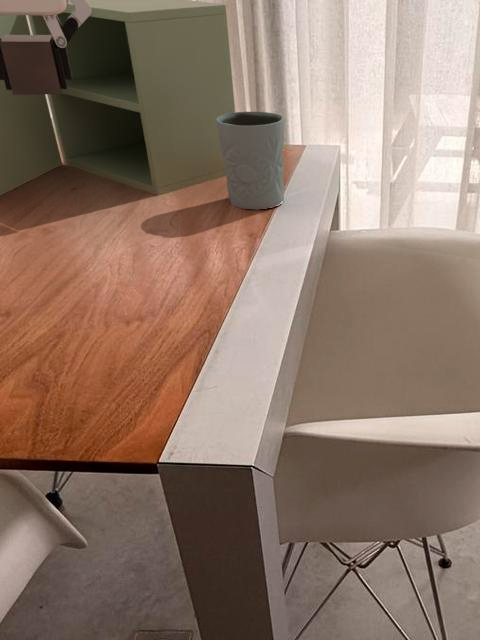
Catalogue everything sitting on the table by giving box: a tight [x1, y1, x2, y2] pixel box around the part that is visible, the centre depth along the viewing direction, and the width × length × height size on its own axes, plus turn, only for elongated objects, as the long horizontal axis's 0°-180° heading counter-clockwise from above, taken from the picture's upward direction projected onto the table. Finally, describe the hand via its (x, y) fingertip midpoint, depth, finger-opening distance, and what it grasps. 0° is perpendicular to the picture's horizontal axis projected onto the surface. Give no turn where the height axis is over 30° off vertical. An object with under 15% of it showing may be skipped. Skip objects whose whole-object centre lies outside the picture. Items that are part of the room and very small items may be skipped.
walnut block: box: [0, 34, 62, 95], centre depth 76 cm, size 5×5×5 cm
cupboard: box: [27, 0, 236, 196], centre depth 113 cm, size 18×26×24 cm
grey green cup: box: [216, 111, 285, 210], centre depth 105 cm, size 10×10×12 cm
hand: (37, 85), depth 77 cm, fingers closed on walnut block, 5 cm apart
